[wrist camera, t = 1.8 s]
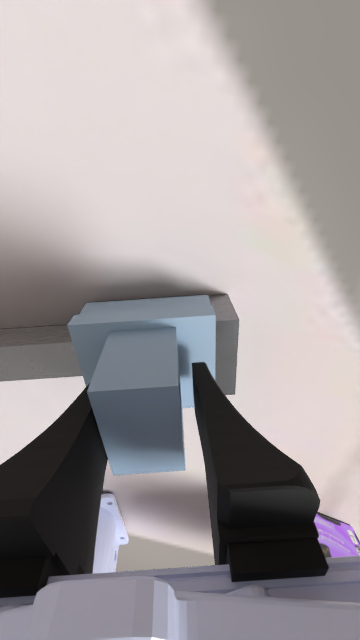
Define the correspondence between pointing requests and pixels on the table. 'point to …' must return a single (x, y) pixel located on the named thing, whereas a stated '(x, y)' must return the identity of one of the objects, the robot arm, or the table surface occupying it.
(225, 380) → the rail
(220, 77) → the table surface
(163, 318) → the carriage
